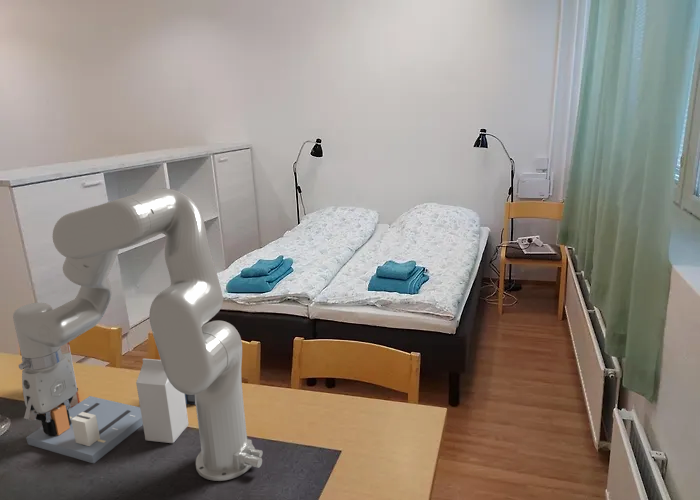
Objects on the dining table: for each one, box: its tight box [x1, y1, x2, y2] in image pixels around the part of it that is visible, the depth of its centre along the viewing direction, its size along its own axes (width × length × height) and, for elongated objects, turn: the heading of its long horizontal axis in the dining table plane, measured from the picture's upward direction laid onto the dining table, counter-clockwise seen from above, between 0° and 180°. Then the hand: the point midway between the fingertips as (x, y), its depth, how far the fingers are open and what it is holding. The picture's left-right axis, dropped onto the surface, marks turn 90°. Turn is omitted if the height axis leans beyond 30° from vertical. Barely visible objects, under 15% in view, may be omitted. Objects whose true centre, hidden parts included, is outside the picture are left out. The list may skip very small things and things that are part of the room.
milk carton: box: [135, 358, 189, 444], centre depth 119 cm, size 7×7×19 cm
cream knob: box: [71, 412, 100, 446], centre depth 115 cm, size 4×3×6 cm
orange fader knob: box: [50, 404, 70, 435], centre depth 119 cm, size 4×3×6 cm
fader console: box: [25, 395, 143, 464], centre depth 123 cm, size 20×18×2 cm
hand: (58, 428), depth 120 cm, fingers closed on orange fader knob, 3 cm apart
